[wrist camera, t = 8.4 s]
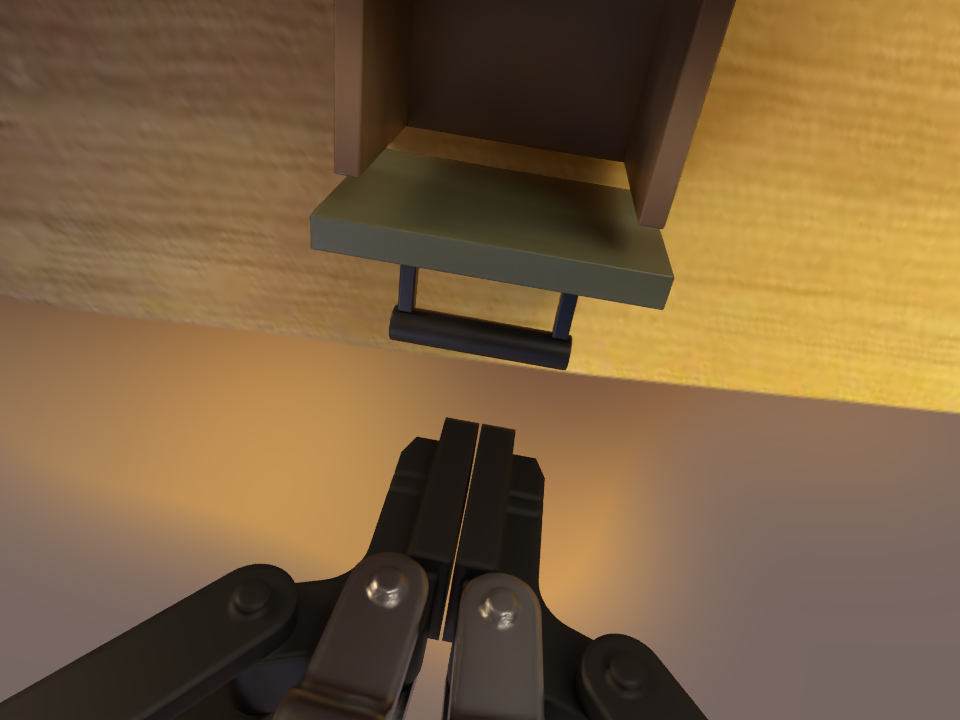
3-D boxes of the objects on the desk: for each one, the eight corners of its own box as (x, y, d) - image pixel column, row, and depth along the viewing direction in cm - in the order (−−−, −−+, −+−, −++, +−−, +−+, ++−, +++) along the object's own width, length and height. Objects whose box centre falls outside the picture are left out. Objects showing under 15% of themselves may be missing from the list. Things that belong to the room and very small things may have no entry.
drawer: (613, 316, 29) (625, 424, 22) (370, 274, 29) (313, 368, 23) (766, -208, 19) (868, -288, 12) (389, -265, 19) (294, -372, 12)
